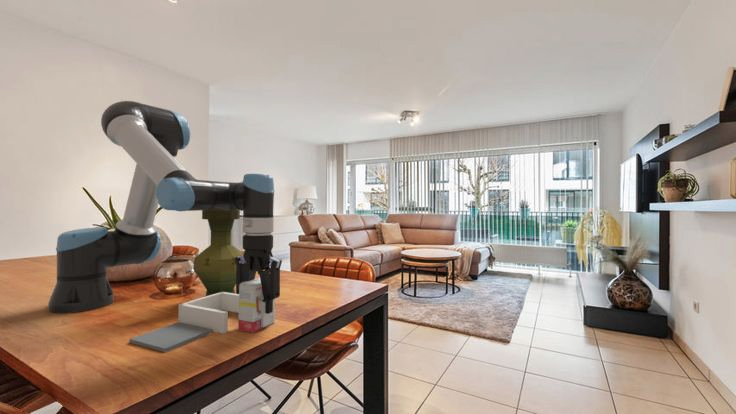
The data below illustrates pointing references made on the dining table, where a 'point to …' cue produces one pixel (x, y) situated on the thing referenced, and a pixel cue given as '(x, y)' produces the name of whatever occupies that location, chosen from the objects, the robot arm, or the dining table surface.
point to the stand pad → (170, 336)
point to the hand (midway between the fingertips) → (257, 323)
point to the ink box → (251, 306)
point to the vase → (218, 253)
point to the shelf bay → (209, 311)
